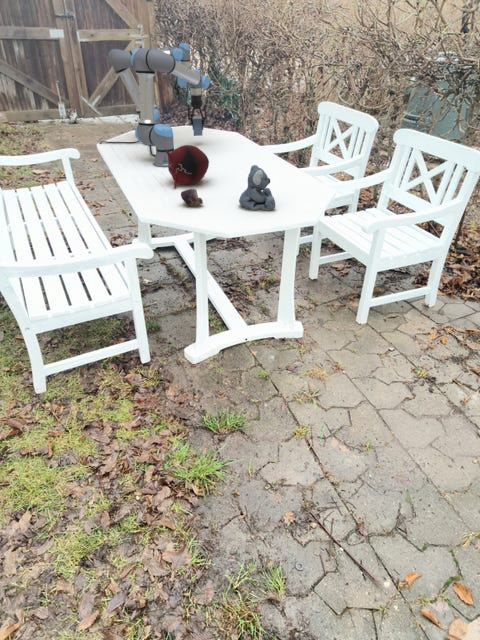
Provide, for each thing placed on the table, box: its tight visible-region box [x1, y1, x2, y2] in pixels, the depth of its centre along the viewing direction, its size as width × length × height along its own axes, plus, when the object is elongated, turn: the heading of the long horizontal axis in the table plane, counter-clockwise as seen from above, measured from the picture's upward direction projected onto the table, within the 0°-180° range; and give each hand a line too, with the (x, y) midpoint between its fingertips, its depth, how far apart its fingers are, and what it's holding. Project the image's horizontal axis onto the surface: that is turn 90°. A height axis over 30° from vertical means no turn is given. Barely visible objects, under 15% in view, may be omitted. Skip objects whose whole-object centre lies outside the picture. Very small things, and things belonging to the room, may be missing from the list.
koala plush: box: [238, 164, 276, 211], centre depth 224 cm, size 17×18×20 cm
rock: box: [180, 188, 204, 207], centre depth 229 cm, size 12×9×10 cm
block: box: [192, 115, 204, 137], centre depth 328 cm, size 9×6×12 cm
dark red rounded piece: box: [165, 144, 210, 189], centre depth 257 cm, size 21×24×25 cm
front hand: (198, 129), depth 329 cm, fingers closed on block, 6 cm apart
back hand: (187, 99), depth 346 cm, fingers open, 13 cm apart
